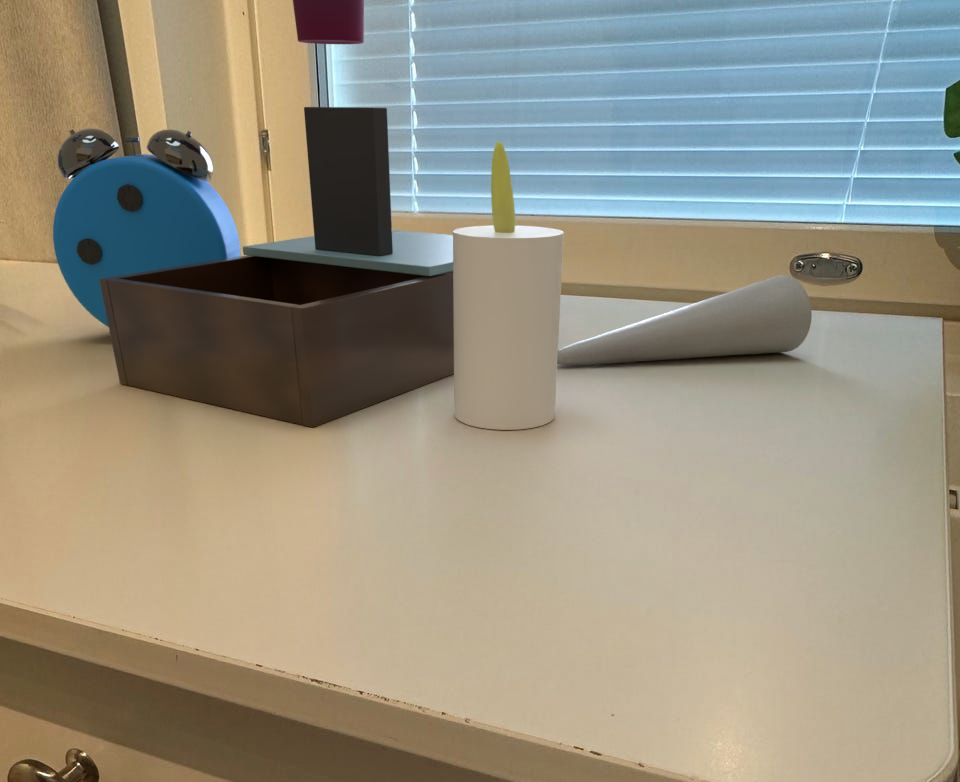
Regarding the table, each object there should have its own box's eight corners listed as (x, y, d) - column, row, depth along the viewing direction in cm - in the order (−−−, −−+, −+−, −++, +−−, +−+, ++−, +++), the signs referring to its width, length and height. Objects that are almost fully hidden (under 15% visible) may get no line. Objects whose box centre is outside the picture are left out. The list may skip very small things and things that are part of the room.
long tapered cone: (588, 323, 60) (813, 275, 65) (544, 317, 65) (756, 274, 71) (595, 408, 62) (810, 355, 68) (552, 396, 68) (755, 348, 73)
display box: (119, 383, 61) (98, 278, 57) (378, 315, 82) (374, 235, 78) (312, 427, 53) (301, 308, 49) (544, 339, 74) (548, 251, 70)
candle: (577, 414, 56) (595, 141, 48) (505, 436, 52) (511, 142, 44) (505, 394, 59) (511, 138, 52) (433, 413, 56) (428, 139, 48)
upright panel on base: (243, 254, 67) (225, 106, 62) (369, 235, 78) (363, 107, 73) (429, 276, 59) (426, 107, 54) (541, 251, 70) (546, 109, 65)
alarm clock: (251, 329, 76) (227, 128, 69) (237, 345, 71) (209, 130, 63) (97, 328, 76) (56, 127, 68) (72, 345, 71) (24, 128, 63)
